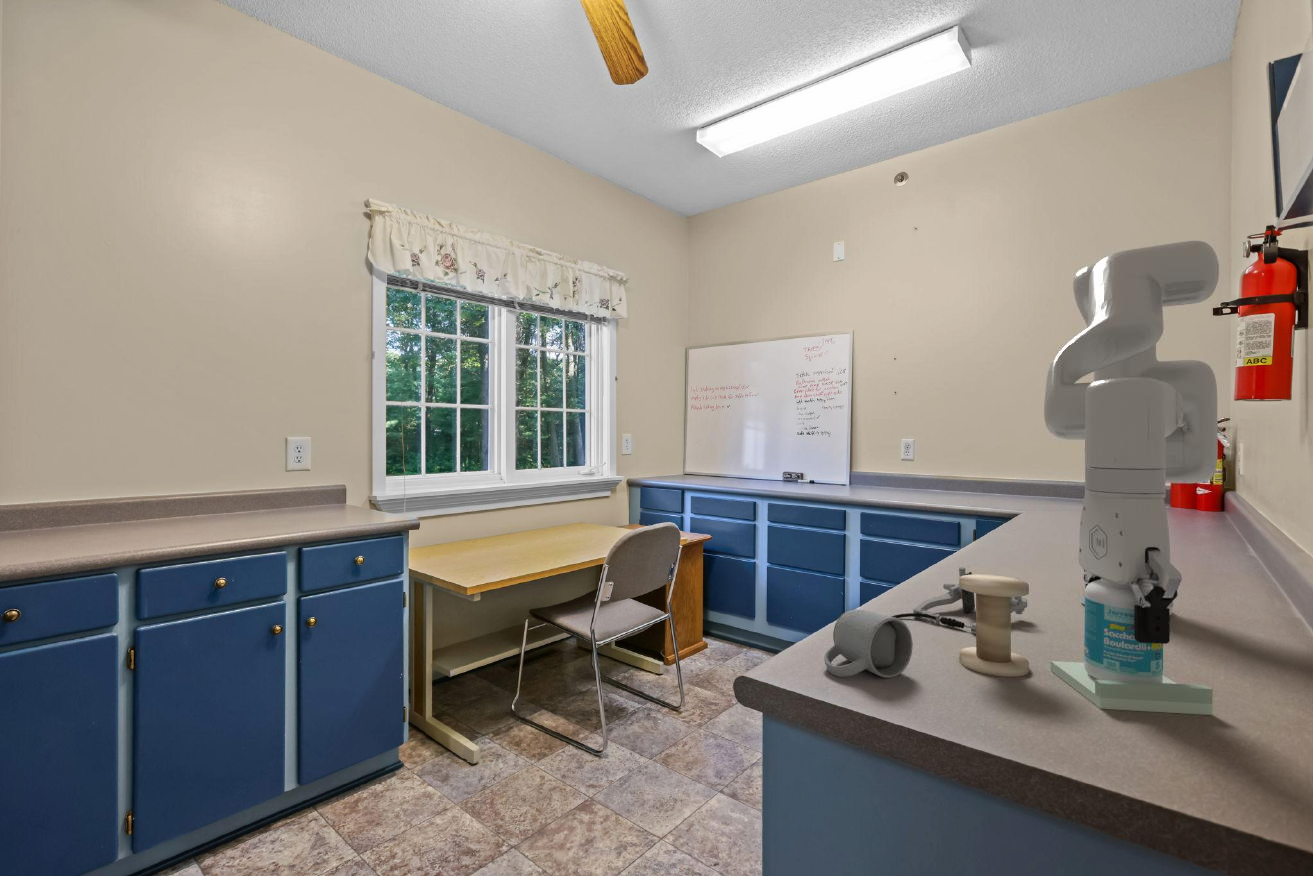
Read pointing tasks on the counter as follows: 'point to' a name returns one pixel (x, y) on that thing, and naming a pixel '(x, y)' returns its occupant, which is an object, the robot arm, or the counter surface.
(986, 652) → the bobbin
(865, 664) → the ceramic mug
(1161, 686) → the board
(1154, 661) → the pill bottle
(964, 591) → the bike brake
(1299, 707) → the counter surface
